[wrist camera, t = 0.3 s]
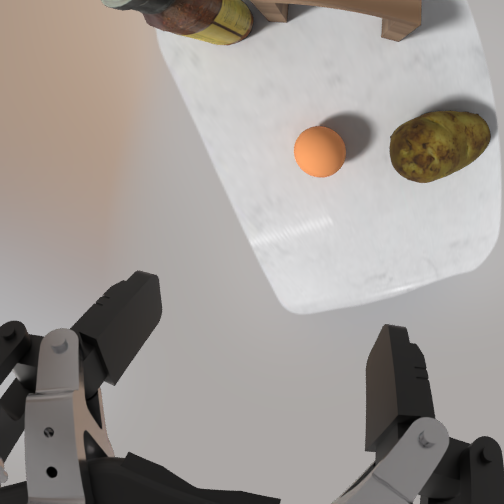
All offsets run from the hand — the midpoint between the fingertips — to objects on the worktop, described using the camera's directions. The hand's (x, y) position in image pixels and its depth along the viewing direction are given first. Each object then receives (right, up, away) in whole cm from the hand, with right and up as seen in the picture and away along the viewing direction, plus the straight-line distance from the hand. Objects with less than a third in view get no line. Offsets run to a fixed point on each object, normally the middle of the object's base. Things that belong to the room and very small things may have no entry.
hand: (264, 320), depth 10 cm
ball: (+7, +13, +20) cm, 25 cm away
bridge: (+9, +28, +14) cm, 32 cm away
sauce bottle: (-3, +29, +17) cm, 34 cm away
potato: (+20, +15, +18) cm, 31 cm away
